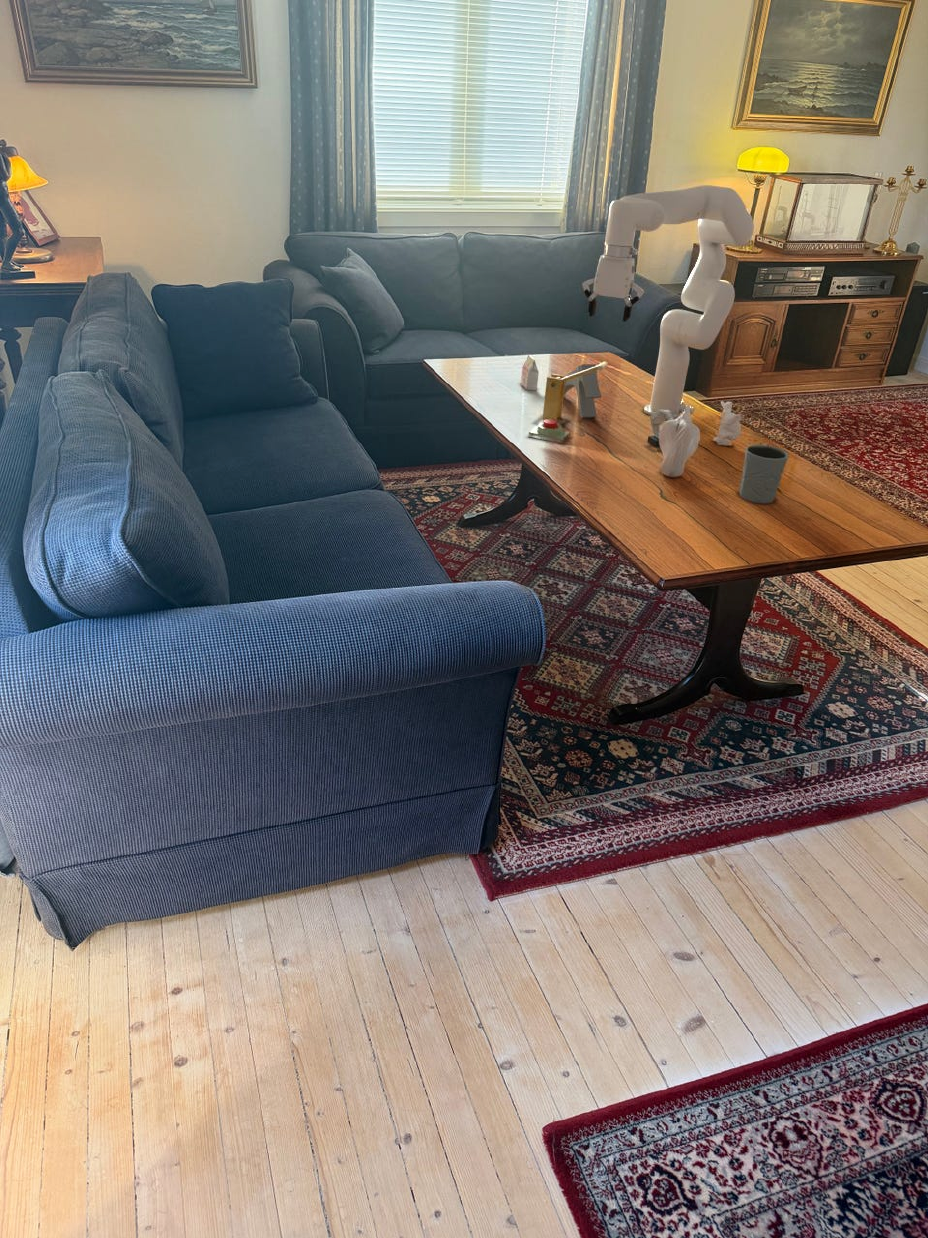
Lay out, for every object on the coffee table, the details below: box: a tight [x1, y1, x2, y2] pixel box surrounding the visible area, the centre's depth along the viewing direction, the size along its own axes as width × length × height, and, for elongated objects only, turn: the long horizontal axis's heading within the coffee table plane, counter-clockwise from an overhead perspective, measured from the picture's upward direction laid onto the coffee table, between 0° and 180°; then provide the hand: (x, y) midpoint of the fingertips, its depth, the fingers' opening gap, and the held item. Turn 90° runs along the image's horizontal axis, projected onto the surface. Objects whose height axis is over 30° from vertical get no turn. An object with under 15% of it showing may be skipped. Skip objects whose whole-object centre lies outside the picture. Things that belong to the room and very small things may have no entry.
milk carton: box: [520, 354, 540, 391], centre depth 282 cm, size 4×7×10 cm, turn 13°
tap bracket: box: [542, 373, 566, 422], centre depth 250 cm, size 8×9×14 cm
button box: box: [528, 422, 571, 445], centre depth 240 cm, size 10×7×4 cm
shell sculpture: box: [659, 404, 701, 478], centre depth 216 cm, size 8×8×18 cm
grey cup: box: [739, 444, 789, 505], centre depth 209 cm, size 10×10×12 cm
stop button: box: [542, 419, 559, 429], centre depth 239 cm, size 4×4×2 cm
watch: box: [646, 409, 675, 448], centre depth 236 cm, size 6×8×11 cm
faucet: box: [564, 363, 602, 420], centre depth 263 cm, size 6×17×30 cm
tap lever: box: [557, 361, 609, 385], centre depth 243 cm, size 17×6×2 cm, turn 66°
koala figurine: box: [712, 400, 742, 446], centre depth 242 cm, size 8×7×12 cm
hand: (608, 317), depth 232 cm, fingers open, 9 cm apart
